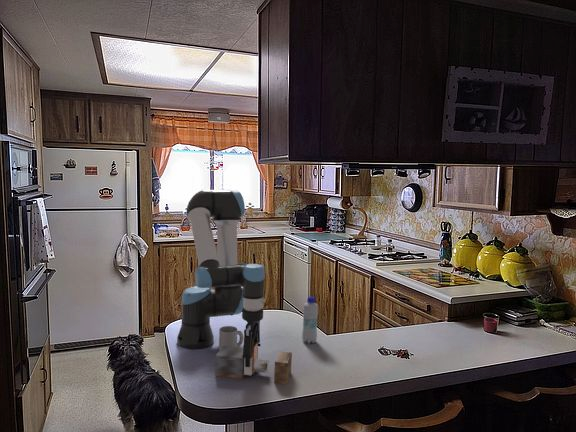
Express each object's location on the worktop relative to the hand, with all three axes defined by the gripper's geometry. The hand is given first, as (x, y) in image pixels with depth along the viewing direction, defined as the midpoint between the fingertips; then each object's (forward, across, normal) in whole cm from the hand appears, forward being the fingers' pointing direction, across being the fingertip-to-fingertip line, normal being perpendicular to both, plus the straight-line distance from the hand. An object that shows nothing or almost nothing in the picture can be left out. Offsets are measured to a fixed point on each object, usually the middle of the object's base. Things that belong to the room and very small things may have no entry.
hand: (251, 369), depth 156 cm
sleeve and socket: (+2, 0, -1) cm, 2 cm away
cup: (+2, +18, +13) cm, 22 cm away
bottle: (+2, +35, -17) cm, 39 cm away
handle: (+1, 0, +3) cm, 3 cm away
